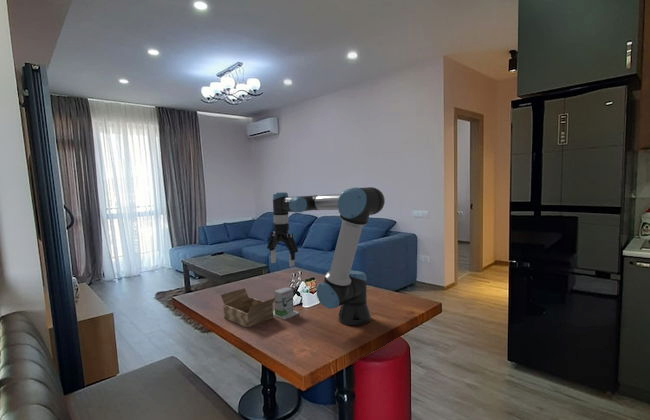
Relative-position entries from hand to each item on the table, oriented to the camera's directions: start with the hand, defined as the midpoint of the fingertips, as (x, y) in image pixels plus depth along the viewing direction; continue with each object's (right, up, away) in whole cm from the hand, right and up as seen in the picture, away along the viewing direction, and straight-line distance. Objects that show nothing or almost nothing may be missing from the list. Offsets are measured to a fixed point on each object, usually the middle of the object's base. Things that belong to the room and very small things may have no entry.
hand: (282, 264), depth 174 cm
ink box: (+1, -24, -4) cm, 24 cm away
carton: (-16, -25, -7) cm, 30 cm away
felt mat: (+1, -24, -3) cm, 24 cm away
